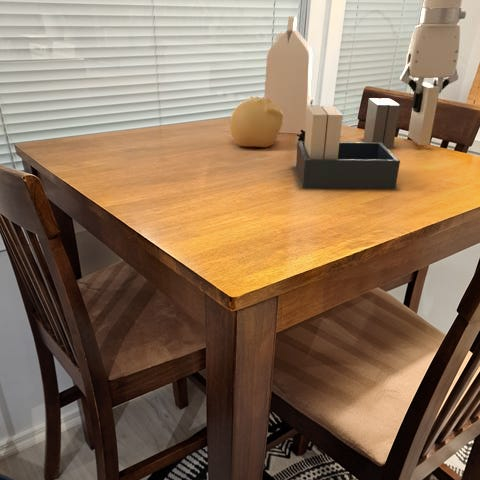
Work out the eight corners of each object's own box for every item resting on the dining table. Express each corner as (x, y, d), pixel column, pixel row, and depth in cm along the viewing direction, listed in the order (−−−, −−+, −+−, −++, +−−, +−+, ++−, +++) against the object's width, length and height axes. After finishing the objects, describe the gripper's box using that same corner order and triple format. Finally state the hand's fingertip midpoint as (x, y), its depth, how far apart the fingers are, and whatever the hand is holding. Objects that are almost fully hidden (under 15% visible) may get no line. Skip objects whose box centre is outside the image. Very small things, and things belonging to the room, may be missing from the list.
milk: (305, 134, 129) (314, 17, 115) (262, 131, 131) (265, 16, 117) (309, 124, 139) (318, 16, 125) (269, 122, 141) (273, 15, 127)
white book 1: (314, 170, 98) (320, 105, 92) (320, 184, 91) (327, 114, 84) (302, 170, 98) (307, 105, 92) (307, 184, 91) (313, 114, 84)
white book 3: (417, 136, 121) (426, 82, 115) (429, 144, 114) (439, 87, 107) (407, 136, 121) (416, 82, 115) (418, 145, 114) (428, 87, 107)
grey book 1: (372, 142, 122) (379, 98, 117) (381, 151, 115) (388, 105, 109) (362, 142, 122) (368, 98, 117) (370, 151, 115) (377, 104, 109)
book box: (377, 171, 101) (381, 142, 98) (394, 193, 89) (400, 160, 86) (295, 171, 101) (297, 141, 98) (302, 192, 89) (304, 159, 86)
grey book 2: (383, 142, 122) (390, 98, 117) (392, 151, 115) (400, 105, 109) (373, 142, 122) (379, 98, 117) (382, 151, 115) (389, 105, 109)
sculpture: (288, 149, 116) (291, 99, 110) (240, 153, 112) (240, 102, 106) (268, 138, 125) (270, 91, 119) (223, 142, 121) (223, 94, 115)
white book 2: (327, 170, 98) (334, 105, 92) (334, 184, 91) (342, 114, 84) (315, 170, 98) (321, 105, 92) (321, 184, 91) (328, 114, 84)
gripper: (470, 17, 107) (452, 108, 117) (396, 18, 108) (384, 109, 117) (485, 17, 101) (464, 114, 111) (406, 18, 101) (392, 114, 111)
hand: (423, 110), depth 114 cm, fingers closed on white book 3, 2 cm apart
